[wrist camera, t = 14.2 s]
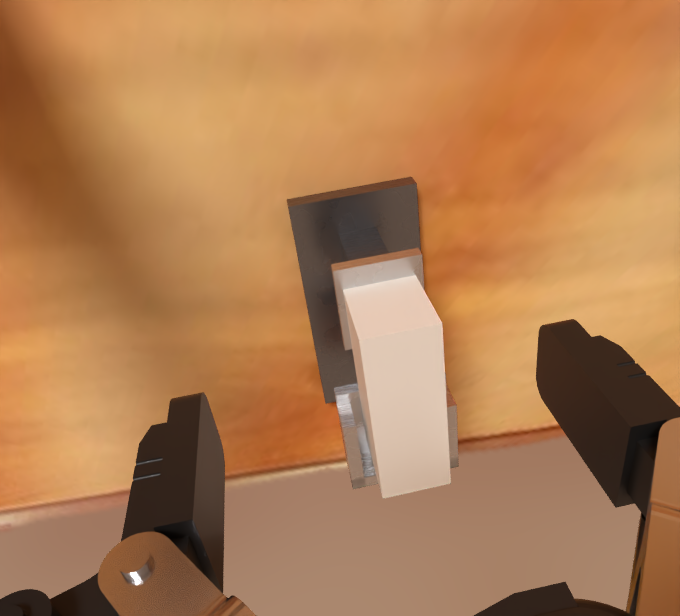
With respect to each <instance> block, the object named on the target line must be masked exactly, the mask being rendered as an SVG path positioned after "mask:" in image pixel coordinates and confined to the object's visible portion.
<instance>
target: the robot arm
mask: <svg viewBox="0 0 680 616" xmlns="http://www.w3.org/2000/svg"><path fill="white" fill-rule="evenodd" d="M536 381H537V387H538V390H539V393H540V396H541V398H542V400H543V401H544V403H545V404H546V406H547V407H548V409H549V410H550V412H551V413H552V415H553V416H554V418H555V419H556V421H557V422H558V424H559V425H560V426H561V428H562V429H563V431H564V432H565V434H566V435H567V437H568V438H569V440H570V441H571V443H572V444H573V446H574V447H575V448H576V450H577V451H578V453H579V454H580V456H581V457H582V459H583V460H584V462H585V463H586V464H587V466H588V468H589V469H590V471H591V472H592V473H593V475H594V476H595V478H596V479H597V481H598V482H599V484H600V485H601V487H602V488H603V490H604V491H605V493H606V494H607V496H608V497H609V498H610V500H611V501H612V503H613V504H614V506H615V507H620V506H625V505H629V504H633V503H635V504H636V505H637V507H638V508H639V510H640V511H641V516H640V520H639V527H638V534H637V541H636V547H635V555H634V561H633V569H632V576H631V583H630V589H629V596H628V601H627V607H626V612H625V611H623V610H621V609H618V608H616V607H613V606H610V605H607V604H604V603H600V602H596V601H590V600H584V599H574V598H573V596H572V594H571V592H570V590H569V588H568V586H567V584H566V582H562V583H558V584H553V585H549V586H545V587H540V588H536V589H531V590H527V591H523V592H518V593H514V594H512V595H510V596H509V597H507V598H505V599H503V600H501V601H499V602H498V603H496V604H494V605H492V606H490V607H488V608H487V609H485V610H483V611H481V612H479V613H478V614H476V615H474V616H680V407H679V406H678V405H677V404H676V403H675V402H674V401H673V400H672V399H671V398H670V397H669V396H668V395H667V394H666V393H665V392H664V391H663V390H662V389H661V387H660V386H659V385H658V384H657V383H656V382H655V381H654V380H653V379H652V378H651V377H650V376H649V375H648V376H647V375H646V372H645V371H644V370H643V369H642V368H641V367H640V366H639V365H638V364H635V361H634V360H633V358H632V357H631V356H630V355H629V354H628V353H627V352H626V351H625V350H624V349H623V348H622V347H621V346H619V345H617V344H615V343H614V342H612V341H610V340H608V339H606V338H604V337H602V336H595V337H591V336H590V335H589V334H588V333H587V332H586V330H585V329H584V328H583V327H582V326H581V325H580V324H579V323H578V322H577V321H576V320H574V319H571V320H566V321H561V322H556V323H551V324H546V325H542V326H541V327H540V330H539V337H538V352H537V368H536ZM224 489H225V461H224V453H223V447H222V443H221V439H220V436H219V433H218V430H217V427H216V424H215V421H214V418H213V415H212V412H211V409H210V406H209V403H208V400H207V397H206V395H205V394H204V393H198V394H193V395H188V396H183V397H178V398H173V399H171V401H170V405H169V413H168V420H167V423H162V424H157V425H152V426H151V427H150V429H149V430H148V432H147V433H146V435H145V436H144V437H143V439H142V440H141V442H140V443H139V448H138V453H137V459H136V466H135V469H134V475H133V482H132V486H131V491H130V496H129V502H128V507H127V513H126V518H125V524H124V529H123V534H122V539H121V542H120V543H118V544H117V545H116V546H115V547H114V548H113V549H112V550H111V551H110V552H109V553H108V554H107V556H106V557H105V558H104V560H103V562H102V564H101V566H100V569H99V572H98V573H97V574H96V575H94V576H93V577H91V578H90V579H88V580H86V581H85V582H83V583H81V584H79V585H77V586H75V587H73V588H71V589H69V590H67V591H65V592H63V593H62V594H59V595H57V596H55V597H54V598H51V599H49V598H48V597H47V595H46V594H44V593H43V592H41V591H38V590H33V589H29V590H28V589H27V590H21V591H17V592H14V593H12V594H9V595H8V596H5V597H4V598H2V599H0V616H256V615H255V614H254V613H253V612H252V611H251V610H250V609H249V608H248V607H247V606H246V605H245V604H244V603H243V602H242V601H241V600H240V599H238V598H237V597H235V596H231V597H230V598H227V597H226V596H224V594H223V558H224Z"/></svg>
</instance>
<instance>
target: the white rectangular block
mask: <svg viewBox="0 0 680 616" xmlns="http://www.w3.org/2000/svg"><path fill="white" fill-rule="evenodd" d="M343 294H344V300H345V306H346V313H347V319H348V325H349V332H350V338H351V344H352V351H353V357H354V363H355V369H356V376H357V382H358V388H359V395H360V401H361V407H362V414H363V420H364V426H365V433H366V439H367V443H368V446H369V450H370V454H371V457H372V461H373V465H374V468H375V472H376V476H377V480H378V483H379V487H380V491H381V494H382V498H388V497H392V496H397V495H402V494H406V493H411V492H415V491H420V490H424V489H429V488H433V487H438V486H442V485H447V484H451V476H450V457H449V439H448V420H447V401H446V383H445V364H444V345H443V327H442V322H441V320H440V318H439V316H438V315H437V313H436V311H435V309H434V307H433V306H432V304H431V302H430V300H429V298H428V297H427V295H426V293H425V291H424V289H423V288H422V286H421V284H420V282H419V280H418V279H417V277H416V275H414V276H409V277H404V278H399V279H394V280H389V281H384V282H379V283H374V284H369V285H364V286H359V287H354V288H349V289H344V290H343Z"/></svg>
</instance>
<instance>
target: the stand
mask: <svg viewBox="0 0 680 616" xmlns="http://www.w3.org/2000/svg"><path fill="white" fill-rule="evenodd" d="M287 203H288V208H289V214H290V219H291V224H292V230H293V235H294V240H295V245H296V251H297V256H298V261H299V266H300V272H301V277H302V282H303V287H304V293H305V298H306V303H307V308H308V314H309V319H310V324H311V329H312V335H313V340H314V345H315V350H316V356H317V361H318V366H319V371H320V377H321V382H322V387H323V393H324V397H325V402H326V403H331V402H336V404H337V410H338V415H339V421H340V427H341V432H342V438H343V443H344V449H345V455H346V460H347V464H348V469H349V473H350V478H351V482H352V487H353V489H356V488H361V487H366V486H370V485H375V484H379V483H378V480H377V476H376V472H375V468H374V465H373V461H372V457H371V454H370V450H369V446H368V443H367V439H366V433H365V426H364V420H363V414H362V407H361V401H360V395H359V388H358V382H357V376H356V369H355V363H354V357H353V351H352V344H351V338H350V332H349V325H348V319H347V313H346V306H345V300H344V294H343V290H344V289H349V288H354V287H359V286H364V285H369V284H374V283H379V282H384V281H389V280H394V279H399V278H404V277H409V276H414V275H416V277H417V279H418V280H419V282H420V284H421V286H422V288H423V289H424V276H423V260H422V253H421V248H420V232H419V216H418V200H417V184H416V182H415V181H414V179H413V178H412V177H408V178H402V179H397V180H392V181H386V182H381V183H375V184H370V185H364V186H359V187H353V188H348V189H342V190H337V191H331V192H326V193H320V194H315V195H309V196H304V197H298V198H293V199H287ZM445 383H446V373H445ZM446 401H447V420H448V439H449V457H450V468H454V467H458V435H457V405H456V403H455V401H454V399H453V397H452V395H451V393H450V391H449V389H448V387H447V385H446Z"/></svg>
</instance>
